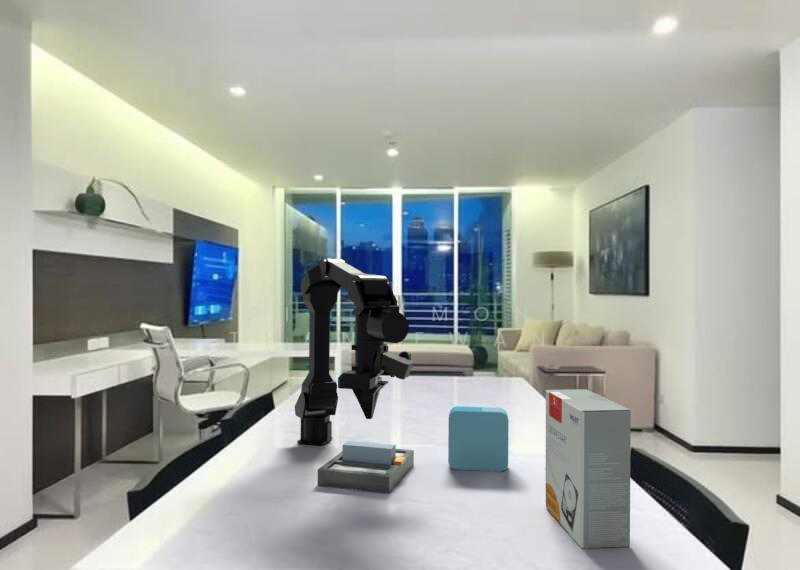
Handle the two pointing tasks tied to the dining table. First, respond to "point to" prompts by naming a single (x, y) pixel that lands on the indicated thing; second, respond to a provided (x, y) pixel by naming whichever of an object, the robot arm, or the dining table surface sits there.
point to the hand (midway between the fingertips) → (369, 418)
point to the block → (369, 452)
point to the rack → (365, 473)
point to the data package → (478, 439)
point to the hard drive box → (588, 467)
